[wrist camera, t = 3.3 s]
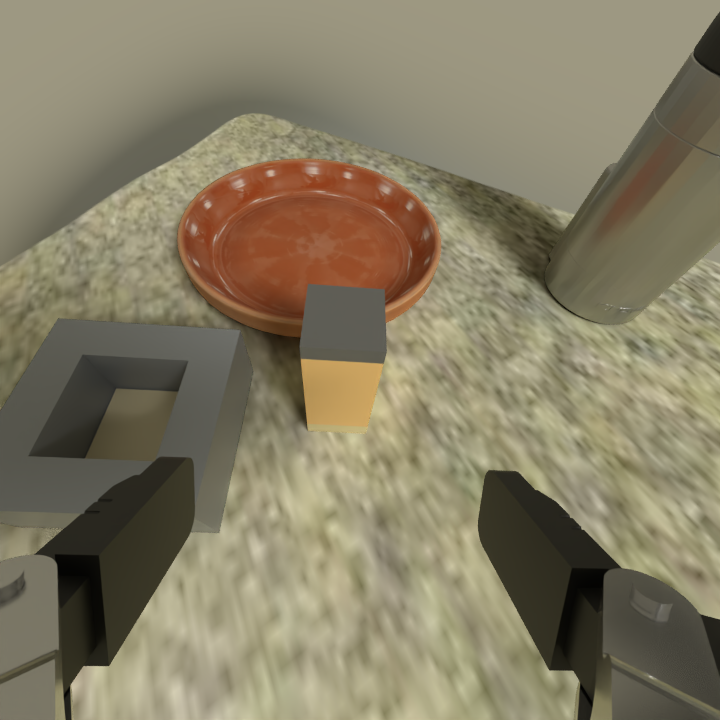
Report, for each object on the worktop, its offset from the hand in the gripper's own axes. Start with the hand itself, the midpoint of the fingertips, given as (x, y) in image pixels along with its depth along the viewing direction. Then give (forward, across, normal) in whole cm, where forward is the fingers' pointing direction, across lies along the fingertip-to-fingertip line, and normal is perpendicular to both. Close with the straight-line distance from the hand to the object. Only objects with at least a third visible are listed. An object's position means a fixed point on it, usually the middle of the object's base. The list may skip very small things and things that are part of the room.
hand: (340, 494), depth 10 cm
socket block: (+14, +12, +5) cm, 19 cm away
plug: (+16, 0, +3) cm, 16 cm away
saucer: (+27, +3, -8) cm, 29 cm away
